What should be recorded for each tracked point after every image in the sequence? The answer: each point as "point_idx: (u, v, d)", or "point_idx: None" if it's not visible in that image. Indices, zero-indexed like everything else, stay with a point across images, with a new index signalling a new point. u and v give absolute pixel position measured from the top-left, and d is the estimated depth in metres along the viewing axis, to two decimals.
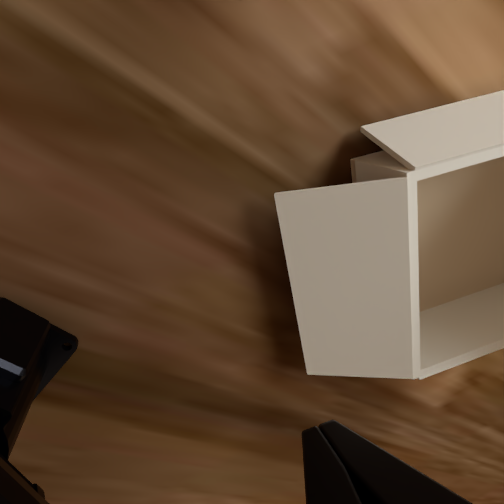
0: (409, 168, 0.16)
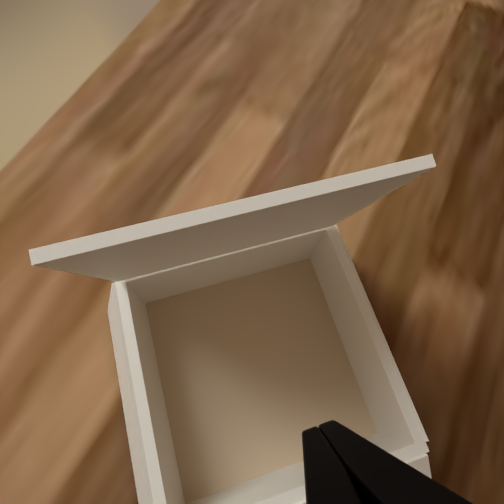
0: None
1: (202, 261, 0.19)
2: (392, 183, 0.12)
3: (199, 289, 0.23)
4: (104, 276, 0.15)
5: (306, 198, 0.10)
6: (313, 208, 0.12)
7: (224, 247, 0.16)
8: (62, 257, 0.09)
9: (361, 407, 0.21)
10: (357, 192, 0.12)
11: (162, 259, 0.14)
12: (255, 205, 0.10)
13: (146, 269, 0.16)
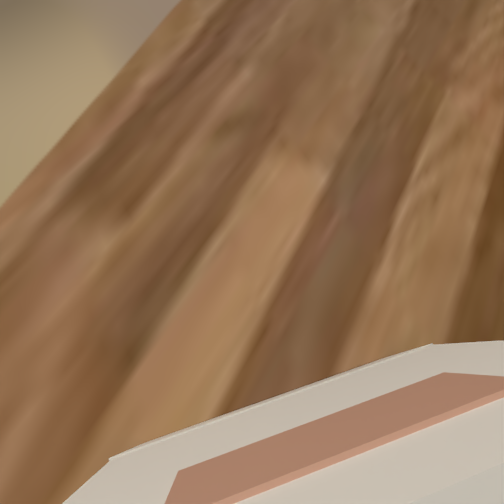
0: None
1: None
2: None
3: None
4: None
5: None
6: None
7: None
8: None
9: None
10: None
11: None
12: None
13: None
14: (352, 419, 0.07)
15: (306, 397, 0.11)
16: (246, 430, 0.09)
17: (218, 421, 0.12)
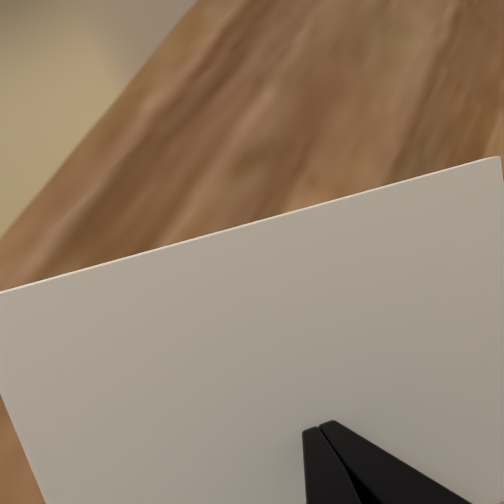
0: None
1: None
2: (473, 208, 0.08)
3: None
4: None
5: (335, 205, 0.08)
6: (386, 279, 0.08)
7: None
8: (6, 293, 0.07)
9: None
10: (426, 222, 0.08)
11: (184, 481, 0.08)
12: (267, 220, 0.08)
13: None
14: None
15: None
16: None
17: None
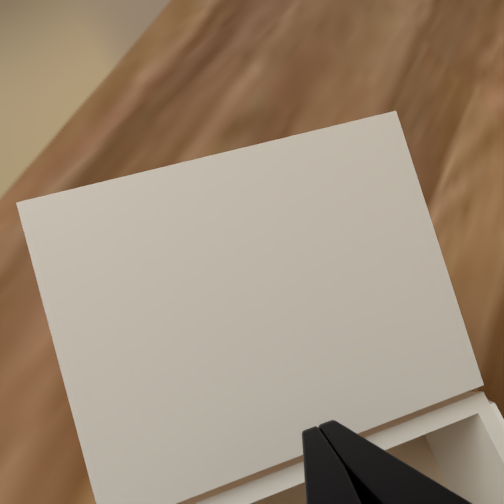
0: None
1: (266, 496, 0.10)
2: (380, 147, 0.11)
3: None
4: (80, 405, 0.10)
5: (273, 143, 0.11)
6: (317, 197, 0.11)
7: (267, 366, 0.10)
8: (44, 197, 0.10)
9: None
10: (344, 156, 0.11)
11: (164, 350, 0.10)
12: (225, 154, 0.11)
13: (149, 433, 0.10)
14: None
15: None
16: None
17: None
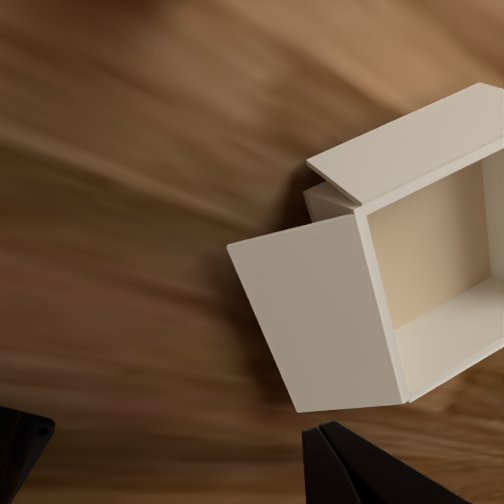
0: (357, 203, 0.16)
1: None
2: None
3: (481, 177, 0.23)
4: None
5: None
6: None
7: None
8: None
9: None
10: None
11: None
12: None
13: None
14: None
15: None
16: None
17: None
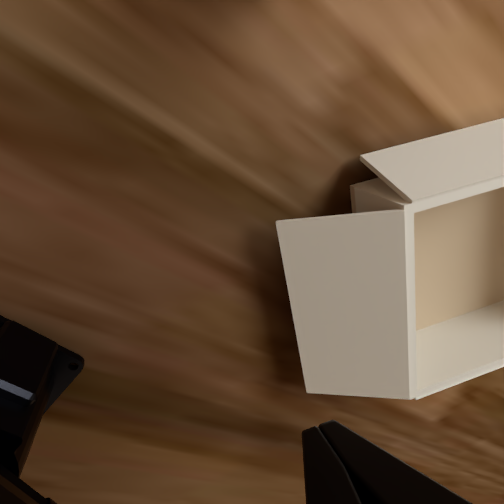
0: (407, 201, 0.17)
1: None
2: None
3: None
4: None
5: None
6: None
7: None
8: None
9: None
10: None
11: None
12: None
13: None
14: None
15: None
16: None
17: None
